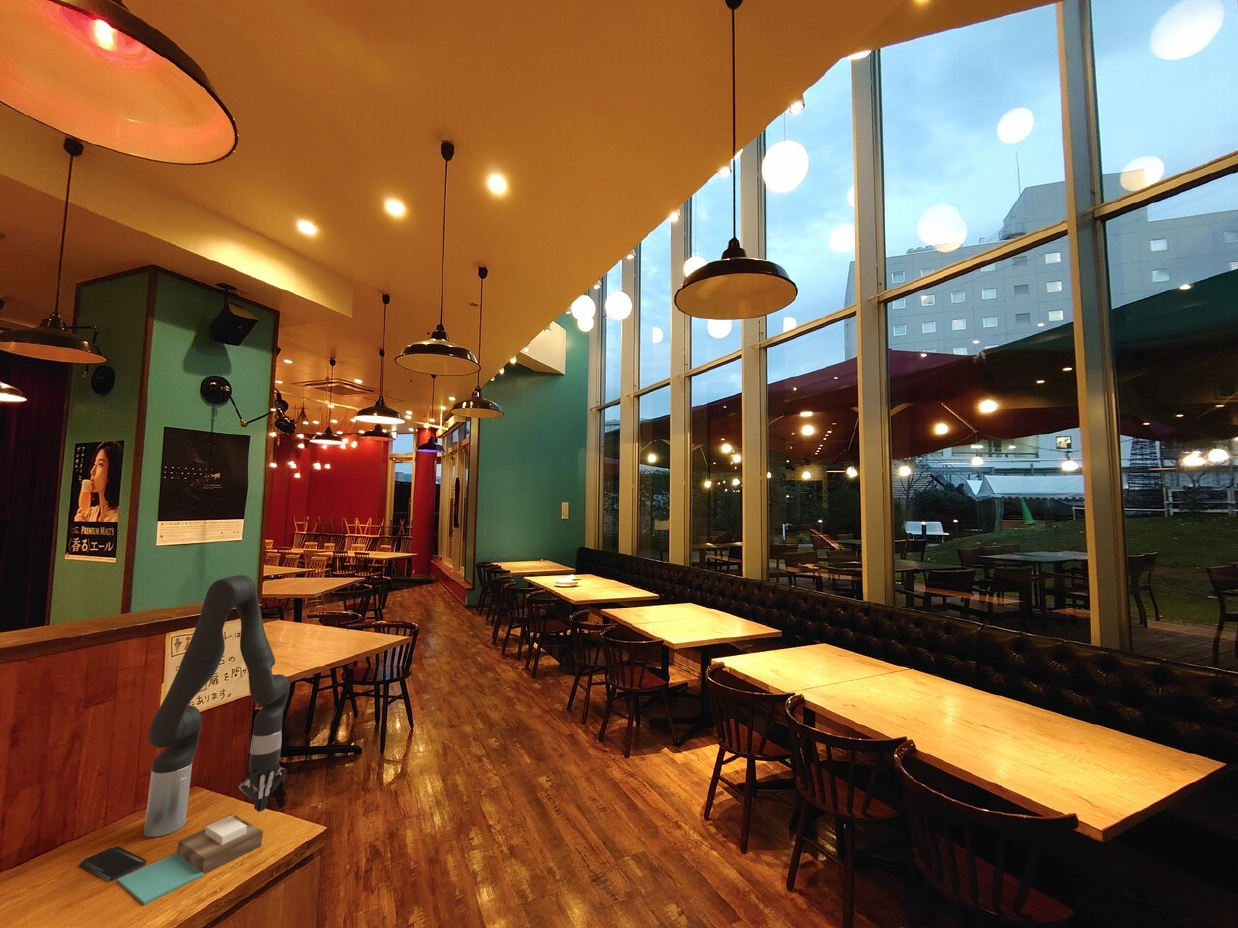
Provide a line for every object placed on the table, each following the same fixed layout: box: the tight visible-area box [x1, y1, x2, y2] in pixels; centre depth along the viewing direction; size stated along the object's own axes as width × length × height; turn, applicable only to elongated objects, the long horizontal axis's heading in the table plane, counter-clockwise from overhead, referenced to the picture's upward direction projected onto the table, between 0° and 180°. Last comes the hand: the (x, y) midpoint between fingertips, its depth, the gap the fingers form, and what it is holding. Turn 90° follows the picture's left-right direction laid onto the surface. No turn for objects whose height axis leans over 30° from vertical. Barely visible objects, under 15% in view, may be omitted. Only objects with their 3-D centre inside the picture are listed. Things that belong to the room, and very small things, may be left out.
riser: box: [176, 815, 264, 875], centre depth 144 cm, size 14×14×4 cm
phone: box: [79, 845, 147, 882], centre depth 137 cm, size 8×1×15 cm
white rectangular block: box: [205, 815, 247, 845], centre depth 145 cm, size 9×6×2 cm, turn 62°
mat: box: [117, 853, 205, 906], centre depth 132 cm, size 15×12×1 cm
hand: (260, 809), depth 152 cm, fingers closed
